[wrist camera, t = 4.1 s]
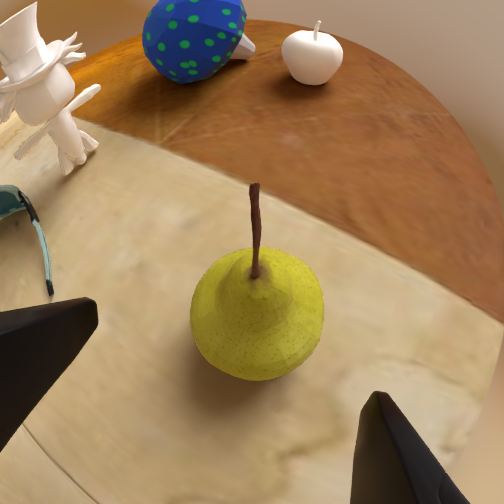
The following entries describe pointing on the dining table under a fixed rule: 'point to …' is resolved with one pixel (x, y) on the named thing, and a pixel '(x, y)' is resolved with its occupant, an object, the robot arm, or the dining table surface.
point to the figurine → (42, 87)
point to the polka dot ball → (195, 37)
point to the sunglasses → (11, 200)
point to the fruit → (257, 310)
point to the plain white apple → (312, 56)
